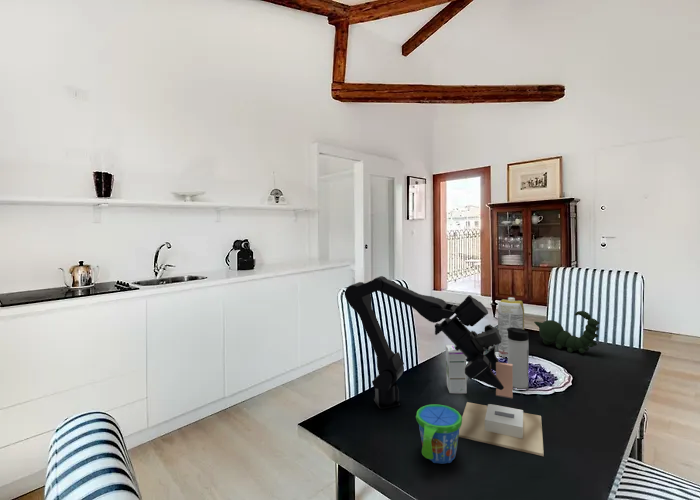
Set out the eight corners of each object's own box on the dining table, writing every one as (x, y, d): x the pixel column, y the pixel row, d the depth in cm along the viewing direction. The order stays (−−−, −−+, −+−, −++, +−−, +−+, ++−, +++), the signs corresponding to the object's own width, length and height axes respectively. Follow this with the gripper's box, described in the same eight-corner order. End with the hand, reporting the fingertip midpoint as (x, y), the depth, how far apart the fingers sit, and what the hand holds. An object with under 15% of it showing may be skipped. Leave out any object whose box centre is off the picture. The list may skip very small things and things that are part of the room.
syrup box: (467, 393, 115) (466, 350, 114) (448, 393, 116) (448, 350, 115) (463, 385, 121) (462, 344, 120) (445, 385, 121) (445, 344, 120)
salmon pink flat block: (495, 395, 96) (495, 363, 95) (496, 393, 97) (496, 361, 96) (512, 398, 94) (512, 365, 93) (512, 396, 95) (512, 364, 94)
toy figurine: (598, 357, 145) (538, 337, 165) (604, 313, 142) (542, 297, 162) (587, 363, 139) (526, 341, 160) (593, 317, 137) (530, 300, 157)
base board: (456, 436, 93) (456, 434, 93) (467, 403, 109) (467, 402, 109) (543, 456, 84) (543, 453, 84) (541, 417, 100) (541, 415, 100)
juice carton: (524, 354, 146) (524, 297, 144) (522, 361, 139) (522, 301, 138) (500, 351, 151) (500, 295, 149) (497, 357, 144) (496, 299, 143)
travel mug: (503, 383, 121) (502, 326, 120) (521, 382, 122) (521, 325, 120) (513, 392, 115) (512, 331, 114) (532, 390, 116) (532, 330, 114)
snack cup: (434, 432, 95) (433, 395, 94) (473, 447, 88) (472, 407, 87) (403, 463, 83) (402, 421, 82) (445, 483, 76) (444, 438, 76)
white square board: (484, 430, 94) (484, 419, 94) (488, 413, 102) (488, 403, 102) (522, 438, 90) (522, 426, 90) (523, 420, 98) (523, 409, 98)
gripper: (478, 327, 88) (527, 378, 84) (486, 310, 104) (527, 351, 100) (446, 354, 92) (491, 404, 88) (458, 333, 108) (497, 374, 104)
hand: (503, 381), depth 95 cm, fingers open, 9 cm apart
